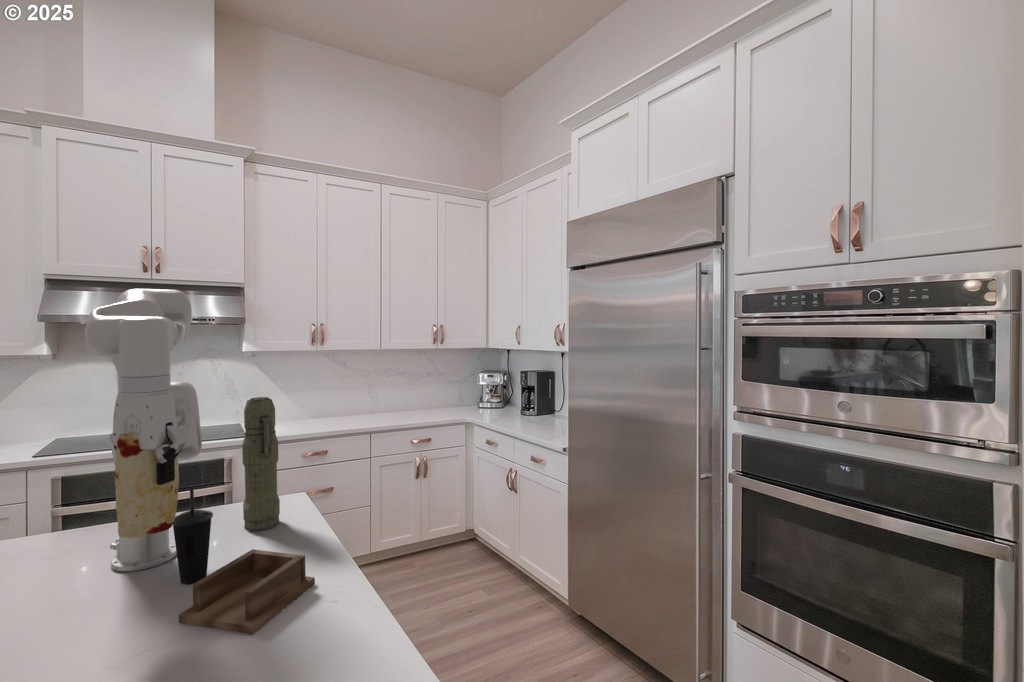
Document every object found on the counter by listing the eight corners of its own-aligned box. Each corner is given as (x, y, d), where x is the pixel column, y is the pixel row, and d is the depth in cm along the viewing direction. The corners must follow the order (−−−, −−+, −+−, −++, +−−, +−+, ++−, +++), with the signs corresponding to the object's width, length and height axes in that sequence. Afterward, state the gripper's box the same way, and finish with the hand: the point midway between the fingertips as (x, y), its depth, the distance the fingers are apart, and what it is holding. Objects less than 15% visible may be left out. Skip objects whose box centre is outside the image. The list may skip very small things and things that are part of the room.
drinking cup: (222, 574, 112) (220, 484, 111) (187, 591, 105) (185, 495, 104) (199, 567, 115) (197, 480, 115) (164, 583, 108) (162, 490, 108)
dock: (178, 622, 94) (178, 588, 94) (250, 575, 111) (250, 546, 111) (252, 634, 90) (251, 598, 90) (314, 584, 108) (314, 554, 107)
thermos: (268, 515, 147) (265, 394, 146) (288, 525, 140) (285, 398, 138) (235, 524, 140) (233, 398, 139) (255, 535, 133) (252, 402, 132)
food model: (123, 547, 88) (119, 433, 87) (111, 537, 92) (107, 428, 91) (186, 529, 96) (183, 424, 95) (172, 520, 100) (169, 419, 99)
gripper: (87, 386, 91) (90, 483, 92) (165, 389, 87) (168, 491, 88) (127, 381, 99) (130, 471, 99) (202, 384, 94) (204, 478, 95)
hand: (148, 480), depth 94 cm, fingers closed on food model, 7 cm apart
